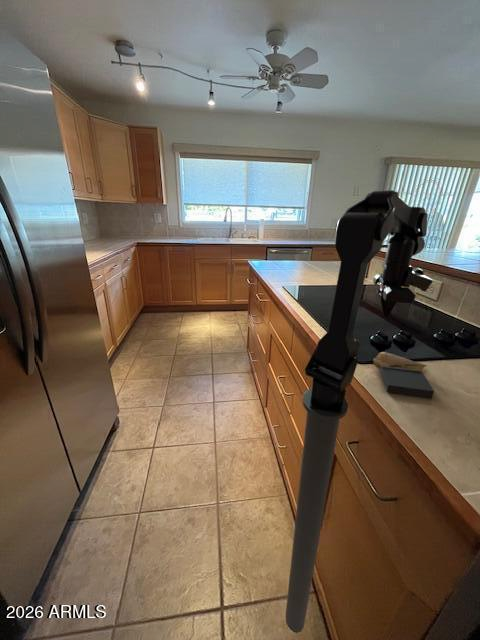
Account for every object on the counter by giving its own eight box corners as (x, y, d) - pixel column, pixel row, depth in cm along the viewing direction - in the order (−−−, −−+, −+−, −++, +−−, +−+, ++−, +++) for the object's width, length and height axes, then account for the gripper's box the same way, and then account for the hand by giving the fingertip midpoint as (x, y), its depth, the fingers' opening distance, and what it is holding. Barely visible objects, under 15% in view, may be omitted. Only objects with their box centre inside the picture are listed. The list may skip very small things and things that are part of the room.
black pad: (386, 392, 60) (388, 384, 59) (379, 372, 67) (381, 365, 66) (431, 398, 57) (434, 391, 57) (419, 377, 64) (421, 370, 64)
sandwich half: (425, 370, 67) (427, 364, 66) (417, 383, 62) (419, 377, 62) (381, 355, 74) (382, 349, 74) (370, 365, 70) (371, 360, 69)
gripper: (449, 269, 57) (430, 333, 63) (421, 255, 73) (408, 307, 79) (392, 267, 60) (379, 329, 66) (377, 254, 76) (368, 304, 82)
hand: (385, 316), depth 73 cm, fingers closed
